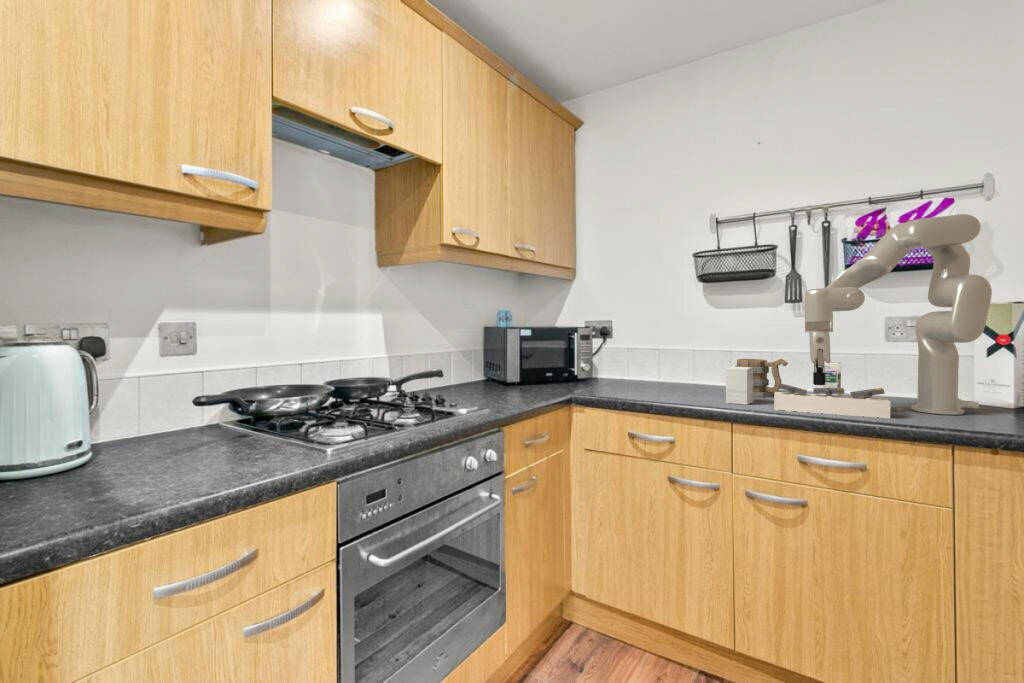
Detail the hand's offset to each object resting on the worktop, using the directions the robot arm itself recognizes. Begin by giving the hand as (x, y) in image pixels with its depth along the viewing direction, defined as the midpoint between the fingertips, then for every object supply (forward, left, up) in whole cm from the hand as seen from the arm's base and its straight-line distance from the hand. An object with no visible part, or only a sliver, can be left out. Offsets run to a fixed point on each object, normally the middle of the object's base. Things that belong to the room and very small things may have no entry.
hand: (819, 384), depth 153 cm
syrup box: (-4, -20, -9) cm, 22 cm away
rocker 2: (-2, 0, -2) cm, 3 cm away
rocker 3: (-12, 0, -2) cm, 13 cm away
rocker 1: (+8, 0, -2) cm, 8 cm away
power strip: (-4, 0, -9) cm, 10 cm away
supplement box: (+24, -7, -9) cm, 26 cm away
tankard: (+18, -28, -9) cm, 34 cm away
